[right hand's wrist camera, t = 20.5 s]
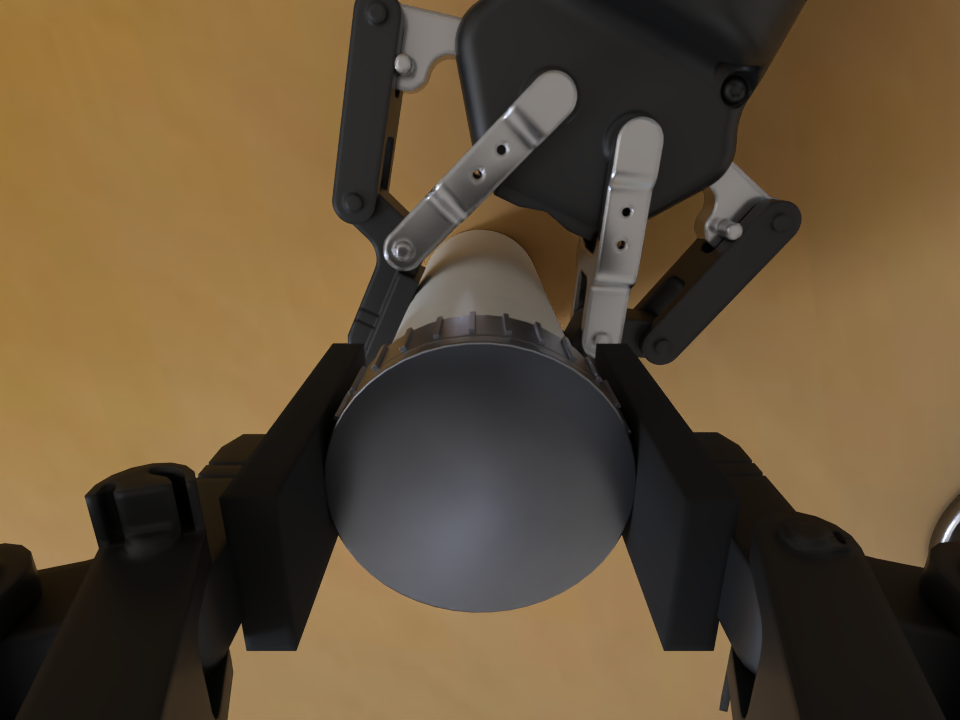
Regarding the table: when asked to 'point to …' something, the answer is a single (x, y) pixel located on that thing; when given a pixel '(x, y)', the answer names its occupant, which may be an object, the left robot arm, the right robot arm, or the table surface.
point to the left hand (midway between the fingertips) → (448, 400)
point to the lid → (480, 465)
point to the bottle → (480, 283)
